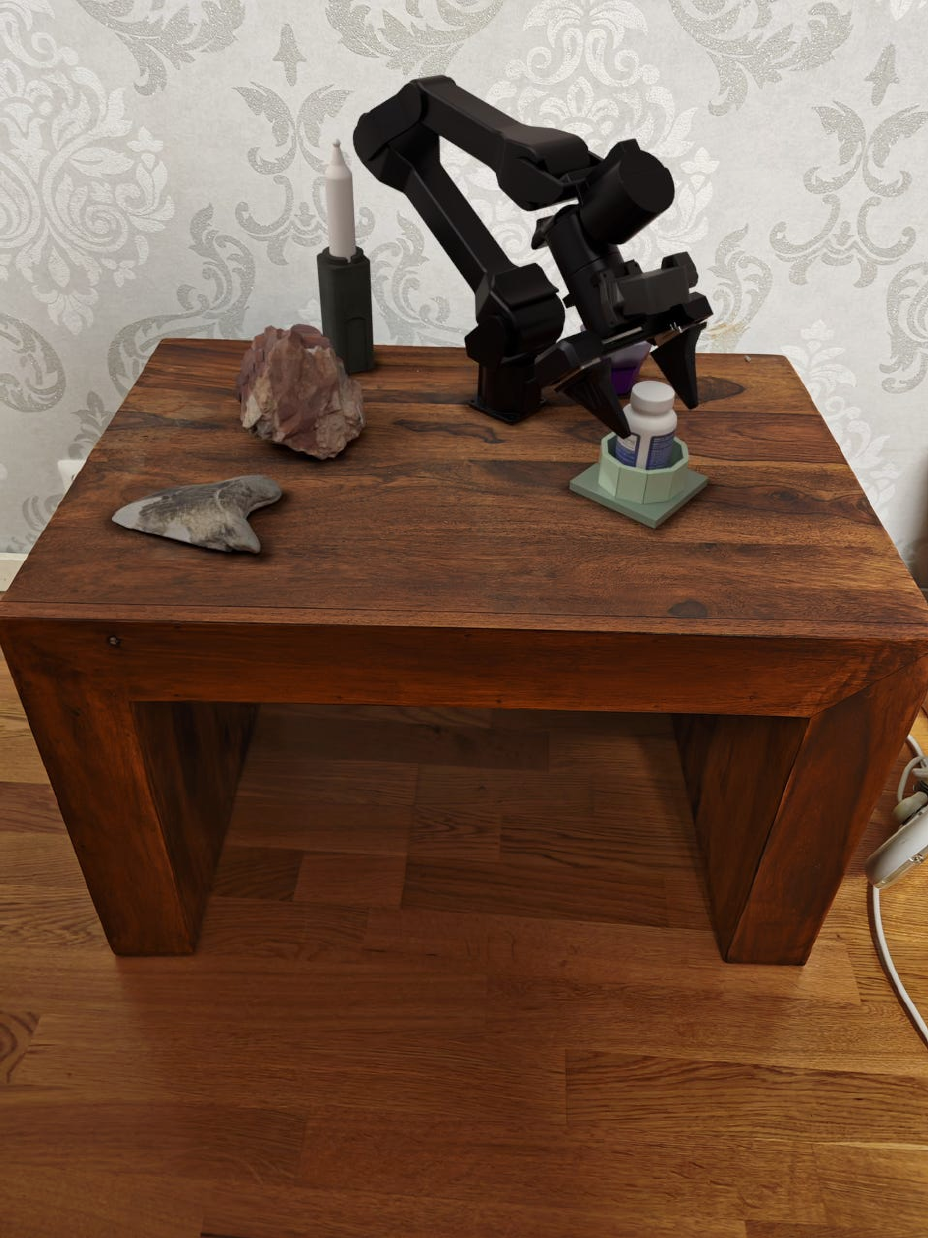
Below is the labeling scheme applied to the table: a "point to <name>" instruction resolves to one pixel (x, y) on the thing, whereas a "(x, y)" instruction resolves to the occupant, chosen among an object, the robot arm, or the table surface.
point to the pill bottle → (648, 427)
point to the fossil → (204, 512)
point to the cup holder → (640, 484)
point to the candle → (345, 274)
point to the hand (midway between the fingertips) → (661, 422)
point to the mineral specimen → (299, 392)
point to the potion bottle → (626, 365)
